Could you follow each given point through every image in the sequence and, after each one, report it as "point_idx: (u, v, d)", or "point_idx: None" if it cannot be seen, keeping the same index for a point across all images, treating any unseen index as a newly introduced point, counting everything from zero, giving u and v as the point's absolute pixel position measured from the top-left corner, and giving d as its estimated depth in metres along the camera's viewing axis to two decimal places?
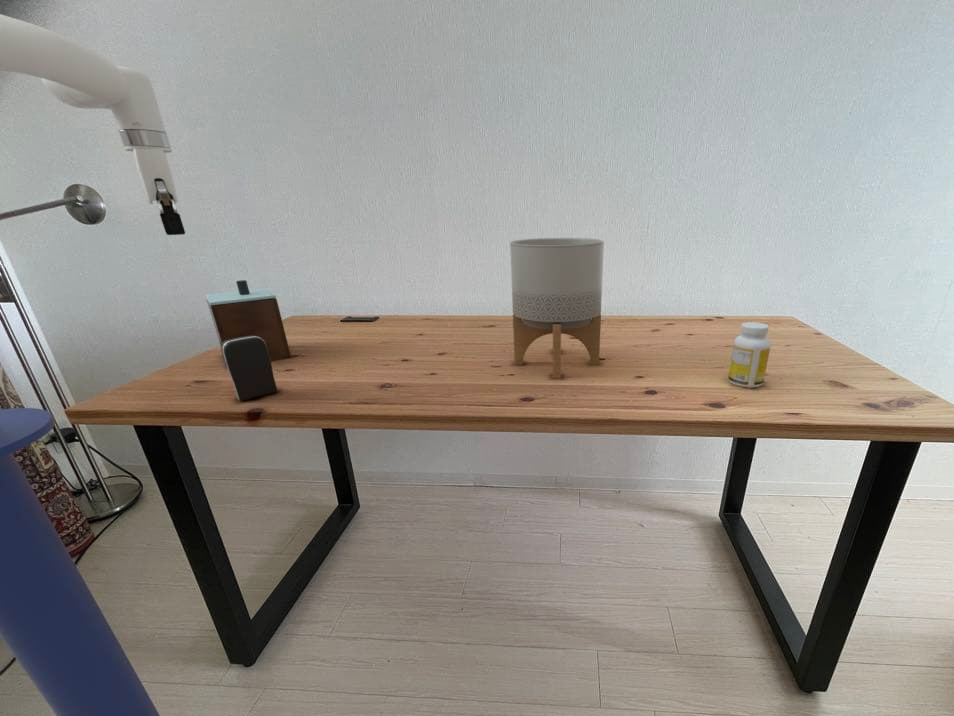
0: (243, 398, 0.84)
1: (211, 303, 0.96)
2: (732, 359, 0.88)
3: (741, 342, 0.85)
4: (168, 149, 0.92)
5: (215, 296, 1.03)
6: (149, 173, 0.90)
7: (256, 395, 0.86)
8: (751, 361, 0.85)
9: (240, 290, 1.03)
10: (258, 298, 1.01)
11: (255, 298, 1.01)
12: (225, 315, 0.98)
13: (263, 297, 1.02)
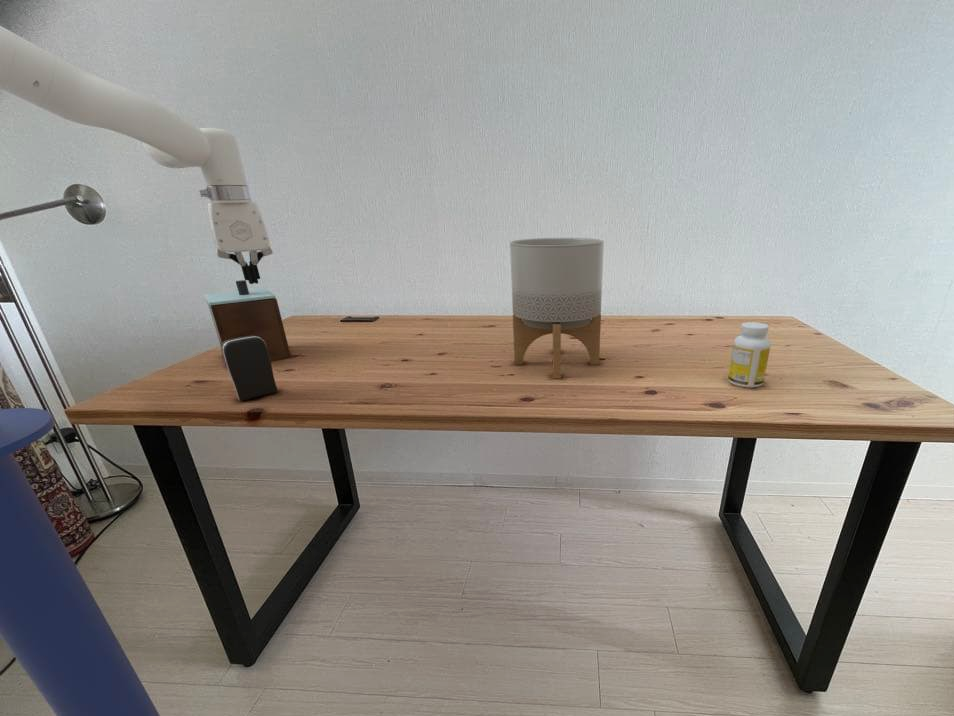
0: (243, 398, 0.84)
1: (210, 303, 0.96)
2: (732, 359, 0.88)
3: (741, 342, 0.85)
4: None
5: (214, 296, 1.03)
6: None
7: (256, 395, 0.86)
8: (751, 361, 0.85)
9: (239, 290, 1.03)
10: (257, 298, 1.01)
11: (254, 298, 1.01)
12: (225, 315, 0.98)
13: (262, 297, 1.02)
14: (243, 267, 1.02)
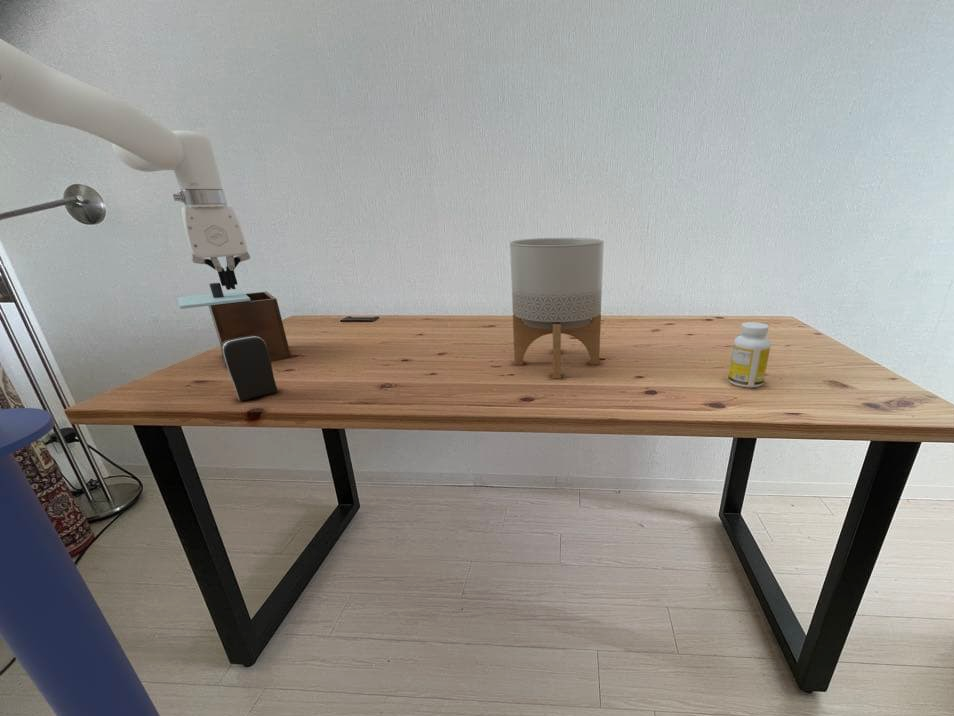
0: (243, 398, 0.84)
1: (182, 306, 0.94)
2: (732, 359, 0.88)
3: (741, 342, 0.85)
4: None
5: (187, 299, 1.00)
6: None
7: (256, 395, 0.86)
8: (751, 361, 0.85)
9: (213, 293, 1.01)
10: (231, 301, 0.98)
11: (228, 301, 0.98)
12: (225, 315, 0.98)
13: (237, 300, 0.99)
14: (219, 272, 1.00)
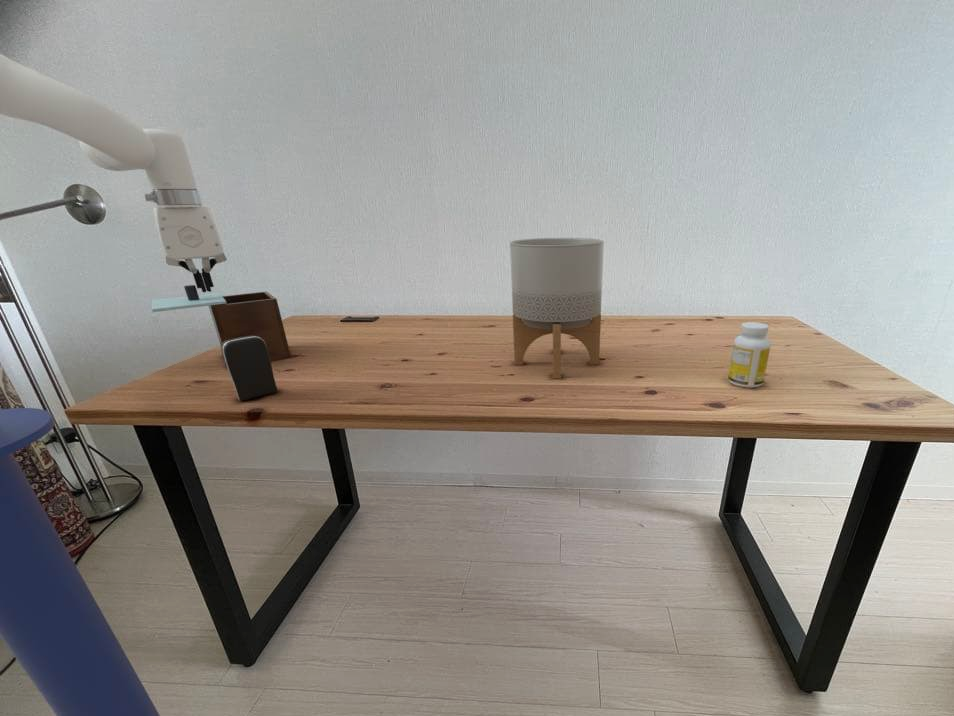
0: (243, 398, 0.84)
1: (154, 310, 0.91)
2: (732, 359, 0.88)
3: (741, 342, 0.85)
4: None
5: (162, 302, 0.97)
6: (216, 229, 0.97)
7: (256, 395, 0.86)
8: (751, 361, 0.85)
9: (188, 295, 0.98)
10: (206, 304, 0.96)
11: (203, 304, 0.96)
12: (225, 315, 0.98)
13: (212, 303, 0.96)
14: (194, 275, 0.97)
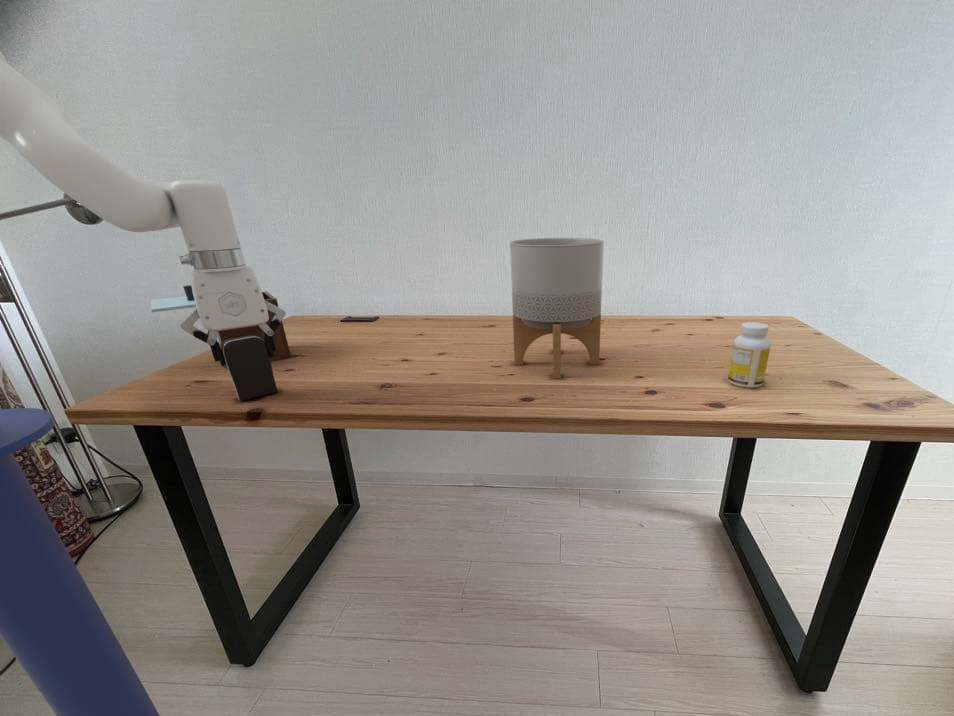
0: (243, 398, 0.84)
1: (153, 310, 0.91)
2: (732, 359, 0.88)
3: (741, 342, 0.85)
4: None
5: (161, 302, 0.97)
6: (261, 292, 0.82)
7: (256, 395, 0.86)
8: (751, 361, 0.85)
9: (188, 295, 0.98)
10: None
11: None
12: None
13: None
14: None
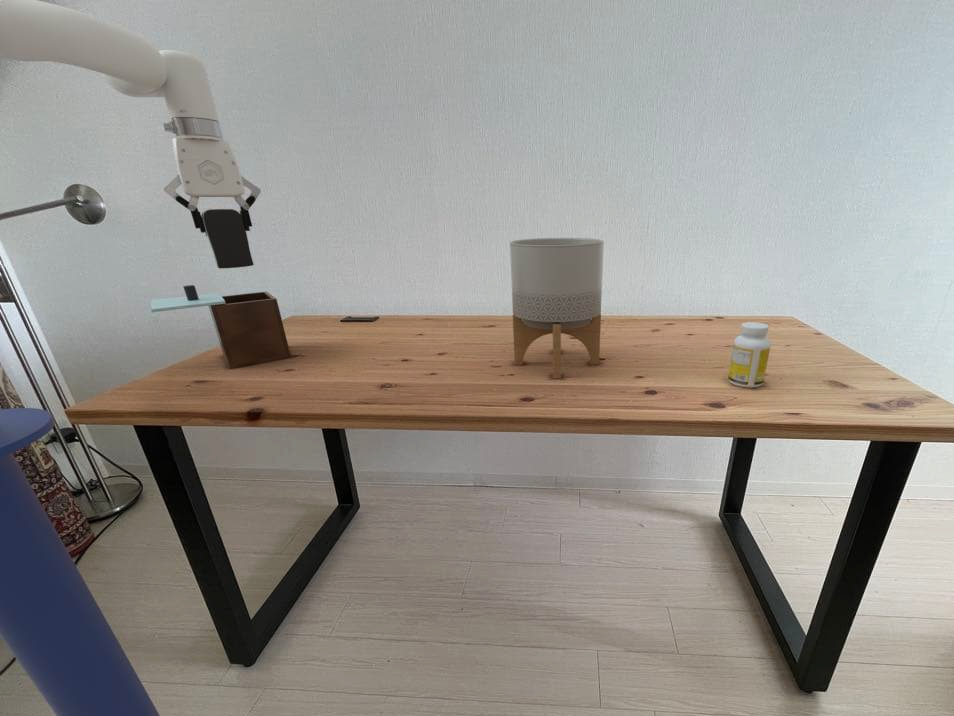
0: (221, 265, 0.94)
1: (153, 310, 0.91)
2: (732, 359, 0.88)
3: (741, 342, 0.85)
4: None
5: (161, 302, 0.97)
6: None
7: (233, 265, 0.95)
8: (751, 361, 0.85)
9: (188, 295, 0.98)
10: (205, 304, 0.96)
11: (202, 304, 0.95)
12: (225, 315, 0.98)
13: (211, 303, 0.96)
14: None
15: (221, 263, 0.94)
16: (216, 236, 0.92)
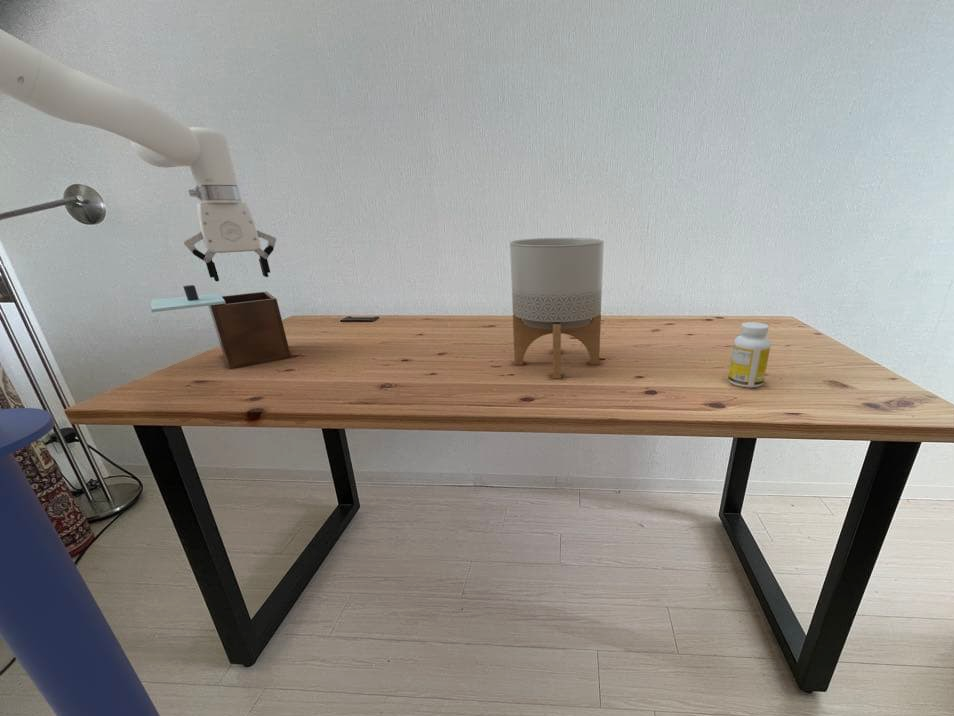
0: None
1: (153, 310, 0.91)
2: (732, 359, 0.88)
3: (741, 342, 0.85)
4: None
5: (161, 302, 0.97)
6: (254, 224, 1.01)
7: None
8: (751, 361, 0.85)
9: (188, 295, 0.98)
10: (205, 304, 0.96)
11: (202, 304, 0.95)
12: (225, 315, 0.98)
13: (211, 303, 0.96)
14: None
15: None
16: None
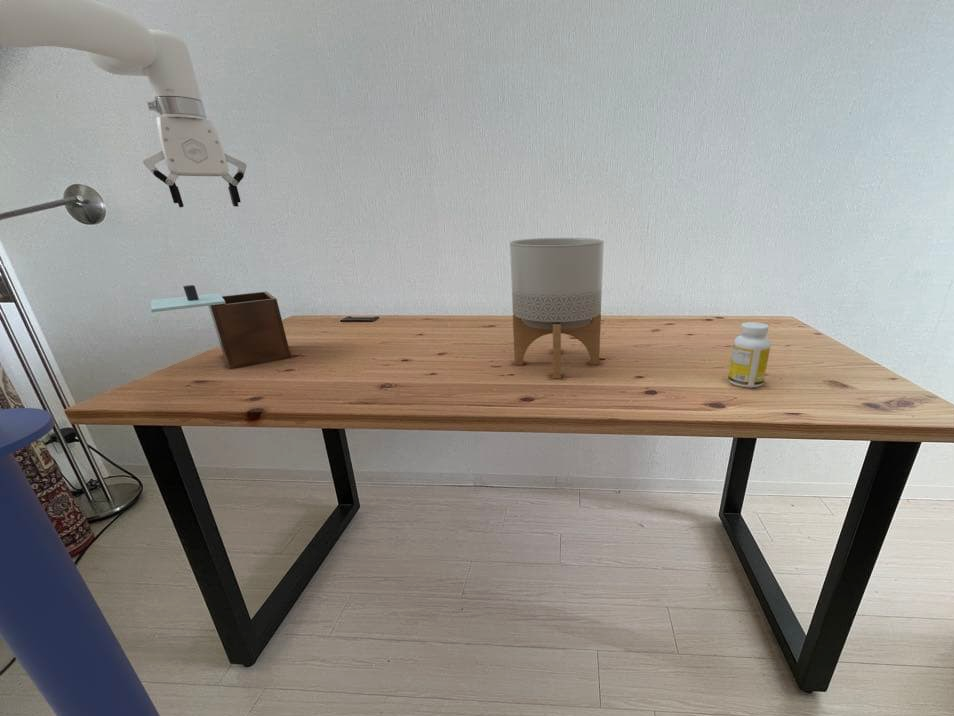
0: None
1: (153, 310, 0.91)
2: (732, 359, 0.88)
3: (741, 342, 0.85)
4: None
5: (161, 302, 0.97)
6: (221, 146, 0.93)
7: None
8: (751, 361, 0.85)
9: (188, 295, 0.98)
10: (205, 304, 0.96)
11: (202, 304, 0.95)
12: (225, 315, 0.98)
13: (211, 303, 0.96)
14: None
15: None
16: None
